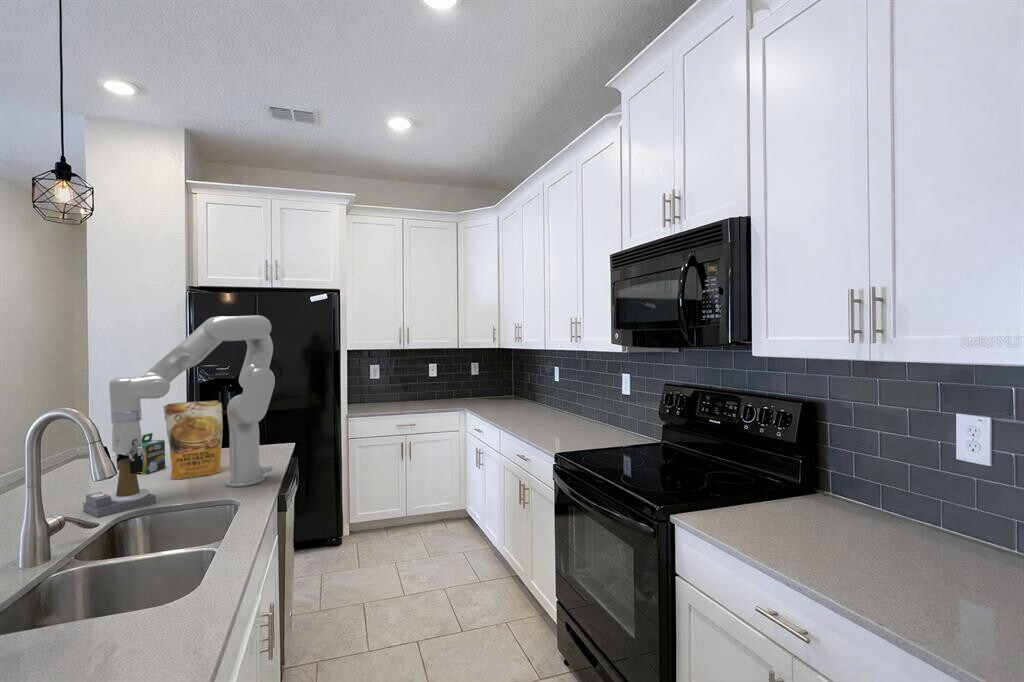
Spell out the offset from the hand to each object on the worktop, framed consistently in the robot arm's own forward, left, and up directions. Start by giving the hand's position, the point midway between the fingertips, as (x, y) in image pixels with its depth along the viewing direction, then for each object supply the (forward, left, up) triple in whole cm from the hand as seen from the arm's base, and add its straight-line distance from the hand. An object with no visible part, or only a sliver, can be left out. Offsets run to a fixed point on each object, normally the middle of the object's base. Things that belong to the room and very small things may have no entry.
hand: (130, 470), depth 159 cm
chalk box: (-20, -41, -11) cm, 47 cm away
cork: (0, -1, -7) cm, 7 cm away
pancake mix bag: (-27, -17, -11) cm, 34 cm away
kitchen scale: (+3, 0, -11) cm, 11 cm away
